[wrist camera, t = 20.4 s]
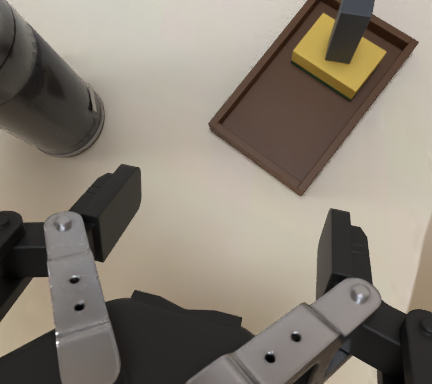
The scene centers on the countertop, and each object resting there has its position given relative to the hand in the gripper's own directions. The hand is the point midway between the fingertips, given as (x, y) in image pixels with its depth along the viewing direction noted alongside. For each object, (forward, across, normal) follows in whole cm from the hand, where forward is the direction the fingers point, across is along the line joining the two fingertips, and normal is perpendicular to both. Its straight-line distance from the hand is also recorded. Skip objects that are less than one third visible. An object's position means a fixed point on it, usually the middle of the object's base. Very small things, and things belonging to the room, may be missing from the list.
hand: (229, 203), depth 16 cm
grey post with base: (+33, -6, +3) cm, 34 cm away
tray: (+31, -4, +6) cm, 32 cm away
